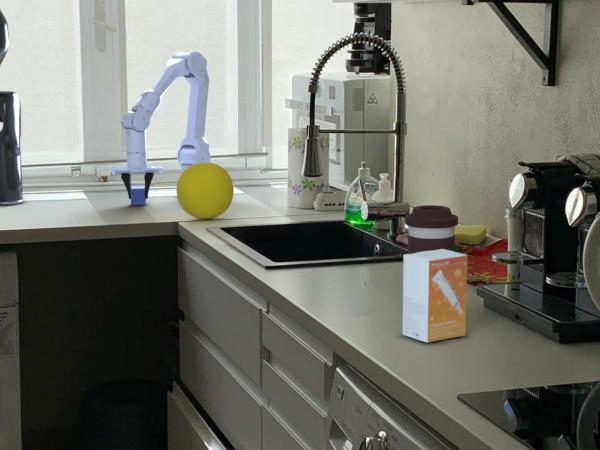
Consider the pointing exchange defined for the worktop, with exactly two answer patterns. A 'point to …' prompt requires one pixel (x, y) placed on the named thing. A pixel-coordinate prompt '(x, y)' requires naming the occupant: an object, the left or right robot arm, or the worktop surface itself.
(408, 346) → the worktop surface
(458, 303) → the small box
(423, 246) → the coffee cup
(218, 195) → the toy
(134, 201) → the block
